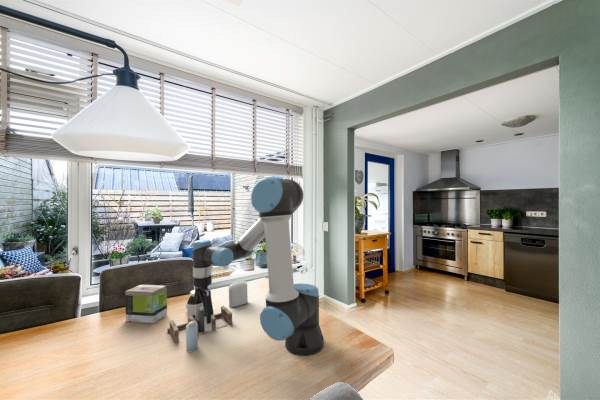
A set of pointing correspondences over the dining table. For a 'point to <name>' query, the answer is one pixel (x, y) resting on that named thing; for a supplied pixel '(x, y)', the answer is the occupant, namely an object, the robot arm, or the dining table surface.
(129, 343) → the dining table surface
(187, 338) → the light blue bottle
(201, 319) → the charcoal plug
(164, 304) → the tea box
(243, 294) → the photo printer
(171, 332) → the comb rack
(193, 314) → the spread jar
